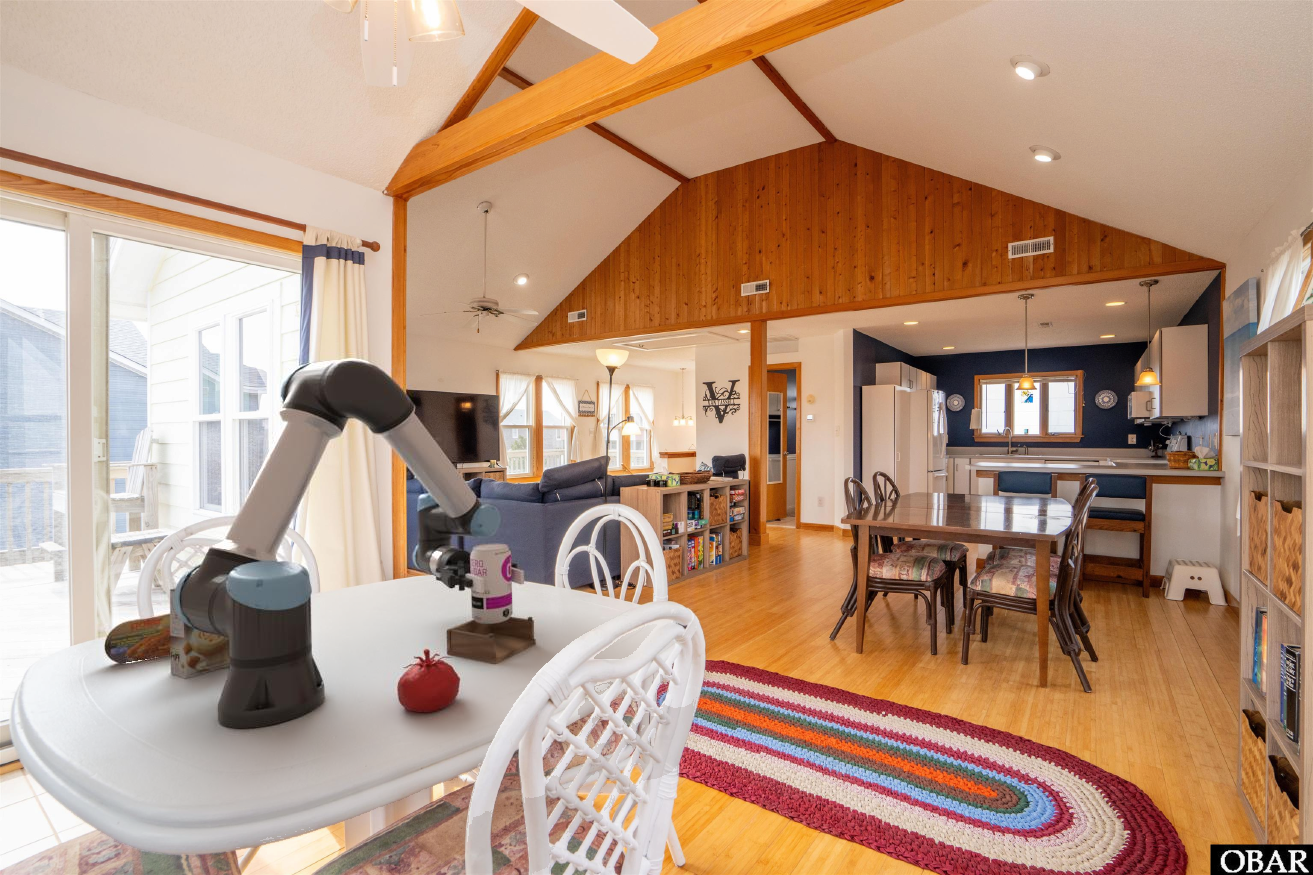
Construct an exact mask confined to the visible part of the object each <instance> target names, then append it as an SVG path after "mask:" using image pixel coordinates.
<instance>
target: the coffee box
mask: <svg viewBox="0 0 1313 875" xmlns="http://www.w3.org/2000/svg"><path fill="white" fill-rule="evenodd" d="M175 589H176V587H175V588H170V589H169V613H170V655H169V656H170V657H169V658H170V674H172V675H175V676H178V677H181V678H183V679H189V678H192V677H195V676H199V675H204V674H206V673H210V672H213V671H216V670H219V669H223V668H227V667H230V654H229V638H227V637H223V636H219V635H215V634H210V633H205V632H200V631H198V630H196V629H194V628H193V627H191V626H189V625H187V624H186V623H184V622H183V621H182V620H181V619H180V618H179V616H178V615H177V613H176V610H175V607H174V592H175Z"/></svg>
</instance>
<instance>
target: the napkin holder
mask: <svg viewBox="0 0 1313 875" xmlns="http://www.w3.org/2000/svg"><path fill="white" fill-rule="evenodd" d="M534 644H535V645H536V644H537V640H536V638H535V620H533V617H532V616H528V617H527V618H522V617H517V616H515V617H514V616H510V618H509V619H508V620H506V621H503V622H499V623H493V624H482V623H477V622H476V621H475V620H474V619H472V620H469V621H466V622H464V623H461V624H459V625H455V626H454V627H450V628H448V629H446V654H447V655H449V656H452V657H453V656H454V657H459V658H462V659H468V660H472V661H478V662H482V663H488V664H493V665H496V664H498V663H500V662H502V661H504V660H507V659H508V658H511V657H512V656H514V655H516V654H518V653H521V652H522V651H524V650H527V649H528V648H531V647H532V645H533V646H535V645H534ZM526 648H527V649H526Z"/></svg>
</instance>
